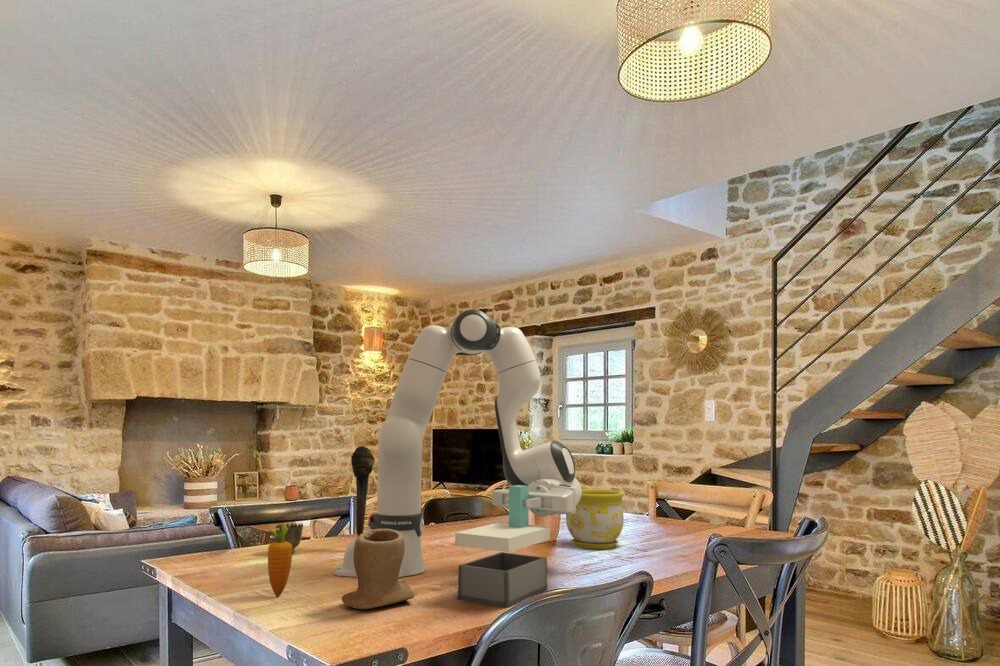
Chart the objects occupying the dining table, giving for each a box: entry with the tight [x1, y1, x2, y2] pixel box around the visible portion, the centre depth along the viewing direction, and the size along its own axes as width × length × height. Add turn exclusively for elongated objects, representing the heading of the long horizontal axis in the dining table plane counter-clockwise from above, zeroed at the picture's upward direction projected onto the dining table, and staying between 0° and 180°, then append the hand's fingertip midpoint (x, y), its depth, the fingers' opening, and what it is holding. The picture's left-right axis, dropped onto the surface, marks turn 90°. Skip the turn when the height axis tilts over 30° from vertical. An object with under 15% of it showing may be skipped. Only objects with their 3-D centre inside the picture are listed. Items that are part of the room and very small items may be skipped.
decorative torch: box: [350, 445, 375, 537], centre depth 196 cm, size 7×7×30 cm
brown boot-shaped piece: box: [340, 529, 415, 610], centre depth 139 cm, size 15×12×15 cm
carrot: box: [267, 523, 293, 598], centre depth 144 cm, size 5×5×15 cm
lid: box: [454, 485, 551, 553], centre depth 149 cm, size 19×13×12 cm
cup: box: [275, 523, 304, 555], centre depth 190 cm, size 8×7×8 cm
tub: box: [457, 551, 548, 609], centre depth 148 cm, size 18×12×7 cm, turn 149°
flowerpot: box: [565, 488, 625, 550], centre depth 209 cm, size 18×18×16 cm
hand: (516, 502), depth 155 cm, fingers closed on lid, 3 cm apart
